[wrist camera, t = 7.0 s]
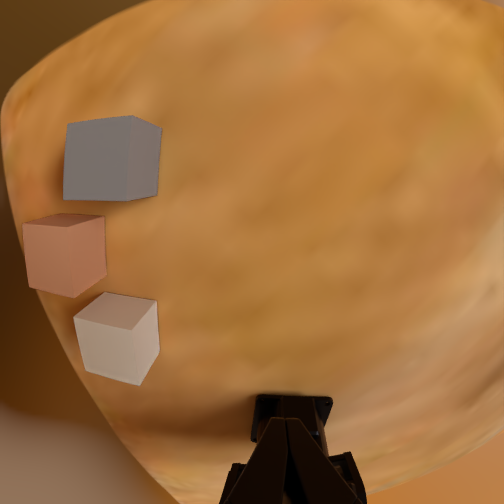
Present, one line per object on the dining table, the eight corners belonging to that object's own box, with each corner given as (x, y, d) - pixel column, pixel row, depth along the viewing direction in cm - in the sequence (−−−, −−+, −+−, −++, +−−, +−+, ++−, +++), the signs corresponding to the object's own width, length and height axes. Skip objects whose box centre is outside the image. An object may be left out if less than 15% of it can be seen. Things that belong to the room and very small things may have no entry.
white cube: (159, 351, 21) (139, 386, 17) (111, 340, 21) (85, 370, 17) (156, 300, 20) (131, 330, 15) (104, 292, 20) (73, 316, 16)
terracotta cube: (106, 275, 20) (74, 298, 15) (63, 268, 20) (29, 286, 15) (104, 216, 18) (67, 227, 14) (60, 213, 19) (22, 223, 14)
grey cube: (157, 195, 18) (126, 201, 14) (101, 193, 18) (63, 199, 14) (161, 128, 17) (132, 115, 12) (105, 131, 17) (67, 123, 13)
